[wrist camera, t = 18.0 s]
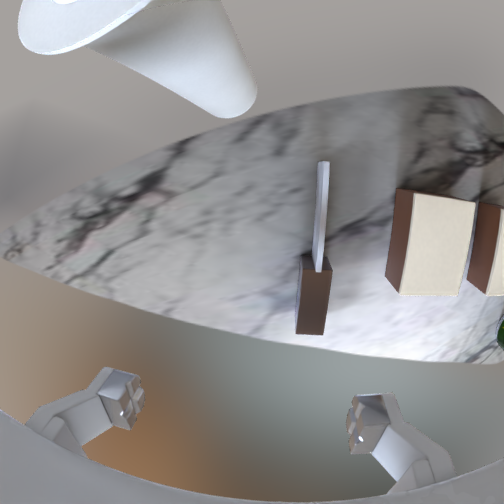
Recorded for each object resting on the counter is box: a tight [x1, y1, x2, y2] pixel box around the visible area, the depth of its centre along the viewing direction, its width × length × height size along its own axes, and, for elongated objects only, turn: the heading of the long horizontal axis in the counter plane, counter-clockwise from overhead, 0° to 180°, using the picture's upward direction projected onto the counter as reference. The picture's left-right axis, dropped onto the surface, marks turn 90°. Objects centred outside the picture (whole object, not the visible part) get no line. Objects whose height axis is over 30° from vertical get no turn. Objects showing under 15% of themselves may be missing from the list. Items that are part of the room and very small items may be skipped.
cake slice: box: [467, 202, 504, 296], centre depth 19 cm, size 8×3×4 cm, turn 0°
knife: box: [295, 161, 333, 335], centre depth 21 cm, size 13×2×4 cm, turn 179°
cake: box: [385, 188, 475, 296], centre depth 20 cm, size 8×6×4 cm
